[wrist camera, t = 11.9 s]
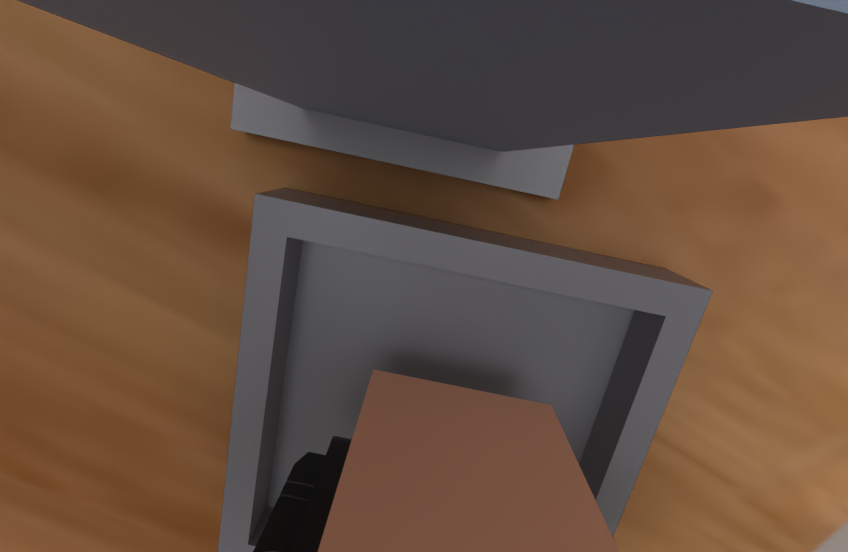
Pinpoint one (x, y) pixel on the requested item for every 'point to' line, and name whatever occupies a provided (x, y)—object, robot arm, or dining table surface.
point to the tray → (441, 339)
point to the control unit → (495, 72)
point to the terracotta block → (460, 476)
